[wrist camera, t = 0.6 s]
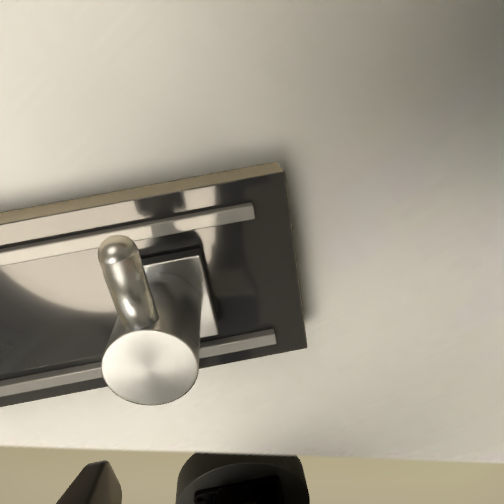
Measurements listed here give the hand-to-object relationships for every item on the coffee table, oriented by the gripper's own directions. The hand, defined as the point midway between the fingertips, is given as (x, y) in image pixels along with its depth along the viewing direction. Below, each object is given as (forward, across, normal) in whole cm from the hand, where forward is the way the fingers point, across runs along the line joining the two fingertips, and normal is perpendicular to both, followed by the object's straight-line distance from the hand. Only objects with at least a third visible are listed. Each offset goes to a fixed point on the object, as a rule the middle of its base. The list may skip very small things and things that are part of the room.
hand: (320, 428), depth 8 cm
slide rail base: (+12, +8, +1) cm, 14 cm away
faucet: (+10, +5, 0) cm, 11 cm away
